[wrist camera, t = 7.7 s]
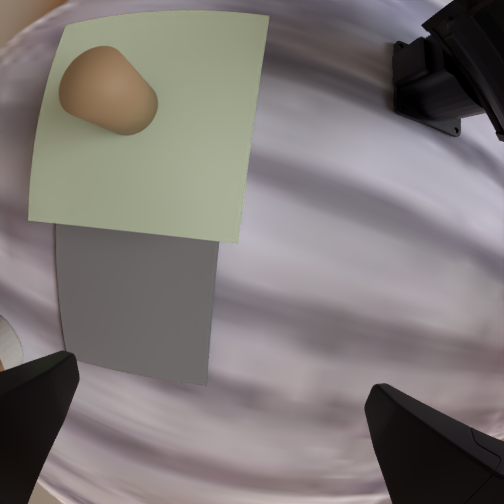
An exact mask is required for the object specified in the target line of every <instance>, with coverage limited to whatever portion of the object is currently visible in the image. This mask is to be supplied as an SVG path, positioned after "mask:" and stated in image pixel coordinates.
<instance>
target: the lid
mask: <svg viewBox="0 0 504 504" xmlns="http://www.w3.org/2000/svg"><path fill="white" fill-rule="evenodd" d="M269 17H270V16H265V15H258V14H249V13H239V12H226V11H206V10H174V11H154V12H141V13H132V14H123V15H116V16H109V17H103V18H97V19H92V20H87V21H82V22H78V23H73V24H69V25H66V27H65V30H64V32H63V35H62V37H61V40H60V43H59V46H58V49H57V51H56V54H55V57H54V61H53V64H52V67H51V70H50V74H49V77H48V81H47V85H46V88H45V92H44V96H43V101H42V105H41V110H40V114H39V119H38V125H37V130H36V136H35V143H34V150H33V157H32V166H31V176H30V190H29V212H28V221H38V222H47V223H57V224H66V225H76V226H85V227H94V228H104V229H113V230H122V231H131V232H140V233H149V234H158V235H167V236H176V237H185V238H193V239H202V240H211V241H219V242H228V243H237V244H238V240H239V232H240V224H241V216H242V208H243V200H244V192H245V185H246V177H247V170H248V162H249V155H250V147H251V140H252V133H253V125H254V118H255V111H256V104H257V97H258V90H259V83H260V76H261V70H262V63H263V56H264V49H265V43H266V36H267V30H268V23H269Z"/></svg>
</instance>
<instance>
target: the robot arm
mask: <svg viewBox="0 0 504 504" xmlns="http://www.w3.org/2000/svg"><path fill="white" fill-rule="evenodd" d="M421 26H422V27H423V28H424V29H425V30H426V31H427V32H429V33H430V34H431V35H429V36H428V37H426V38H424V37H419V38H417V39H416V40H415V41H413V42H412V43H410V44H409V45H408V44H406V43H404V42H401V41H397V42H396V43H395V44H394V56H393V57H392V65H393V85H394V110H395V112H396V113H397V114H399V115H401V116H404V117H407V118H409V119H412V120H415V121H417V122H420V123H422V124H425V125H427V126H430V127H432V128H435V129H437V130H439V131H442V132H444V133H446V134H448V135H451V136H453V137H458V136H460V133H461V118H465V117H469V116H474V115H479V114H484V113H486V114H487V115H488V117H489V119H490V121H491V123H492V125H493V126H494V128H495V130H496V135H497V137H498V139H499V140H500V141H503V142H504V0H453V1H452V2H451V3H449V4H448V5H446V6H445V7H444V8H442V9H441V10H440V11H439V12H437V13H436V14H435V15H433V16H432V17H431V18H430V19H428V20H427V21H426V22H425V23H423V24H422V25H421ZM399 46H400V47H401V48H402V49H401V48H400V47H399ZM399 106H401V107H402V110H400V108H399ZM454 129H455V131H456V133H455V131H454ZM78 383H79V371H78V365H77V360H76V356H75V355H74V354H73V353H71V352H68V351H64V350H62V351H59V352H56V353H53V354H51V355H48V356H45V357H42V358H39V359H36V360H33V361H30V362H27V363H24V364H21V365H19V366H16V367H13V368H10V369H7V370H4V371H0V504H28V502H29V499H30V496H31V494H32V491H33V489H34V486H35V484H36V482H37V479H38V477H39V474H40V472H41V470H42V467H43V465H44V463H45V461H46V458H47V456H48V454H49V452H50V450H51V447H52V445H53V443H54V441H55V439H56V437H57V435H58V433H59V431H60V429H61V427H62V425H63V422H64V420H65V418H66V415H67V412H68V410H69V407H70V404H71V402H72V399H73V396H74V394H75V391H76V388H77V386H78ZM365 414H366V418H367V423H368V427H369V431H370V435H371V440H372V444H373V448H374V451H375V454H376V457H377V460H378V462H379V465H380V468H381V471H382V474H383V477H384V480H385V483H386V486H387V489H388V492H389V495H390V498H391V501H392V504H504V441H502V440H499V439H497V438H494V437H491V436H489V435H487V434H485V433H482V432H480V431H478V430H476V429H474V428H472V427H469V426H467V425H465V424H463V423H461V422H459V421H457V420H455V419H453V418H451V417H449V416H447V415H445V414H443V413H441V412H439V411H437V410H435V409H433V408H432V407H430V406H428V405H426V404H424V403H422V402H420V401H418V400H416V399H414V398H412V397H411V396H409V395H407V394H405V393H403V392H401V391H399V390H398V389H396V388H394V387H392V386H390V385H388V384H386V383H382V384H375V385H374V386H373V387H372V389H371V391H370V394H369V396H368V398H367V401H366V403H365Z"/></svg>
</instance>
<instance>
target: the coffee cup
mask: <svg viewBox="0 0 504 504" xmlns="http://www.w3.org/2000/svg"><path fill="white" fill-rule="evenodd" d="M22 359H23V352H22V347H21V344H20V341H19V339H18V337H17V335H16V333H15V331H14V330H13V328H12V327H11V326H10V324H9V323H8V322H7V321H6V320H5V319H4V318H3V317H1V316H0V371H4V370H7V369H10V368H13V367H16V366H19V365H20V364H21V362H22Z"/></svg>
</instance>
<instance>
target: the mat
mask: <svg viewBox="0 0 504 504" xmlns="http://www.w3.org/2000/svg"><path fill="white" fill-rule="evenodd" d="M218 249H219V241H211V240H202V239H193V238H185V237H176V236H167V235H158V234H149V233H140V232H131V231H122V230H113V229H104V228H94V227H85V226H76V225H66V224H57V223H56V267H57V283H58V295H59V305H60V313H61V321H62V328H63V335H64V341H65V347H66V351H68V352H71V353H73V354H74V355H75V356H76V360H77V361H81V362H84V363H88V364H92V365H96V366H100V367H104V368H108V369H112V370H117V371H121V372H126V373H130V374H135V375H140V376H146V377H151V378H157V379H162V380H169V381H175V382H182V383H189V384H196V385H205V386H206V385H207V373H208V359H209V346H210V333H211V322H212V310H213V299H214V288H215V278H216V268H217V258H218Z"/></svg>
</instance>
